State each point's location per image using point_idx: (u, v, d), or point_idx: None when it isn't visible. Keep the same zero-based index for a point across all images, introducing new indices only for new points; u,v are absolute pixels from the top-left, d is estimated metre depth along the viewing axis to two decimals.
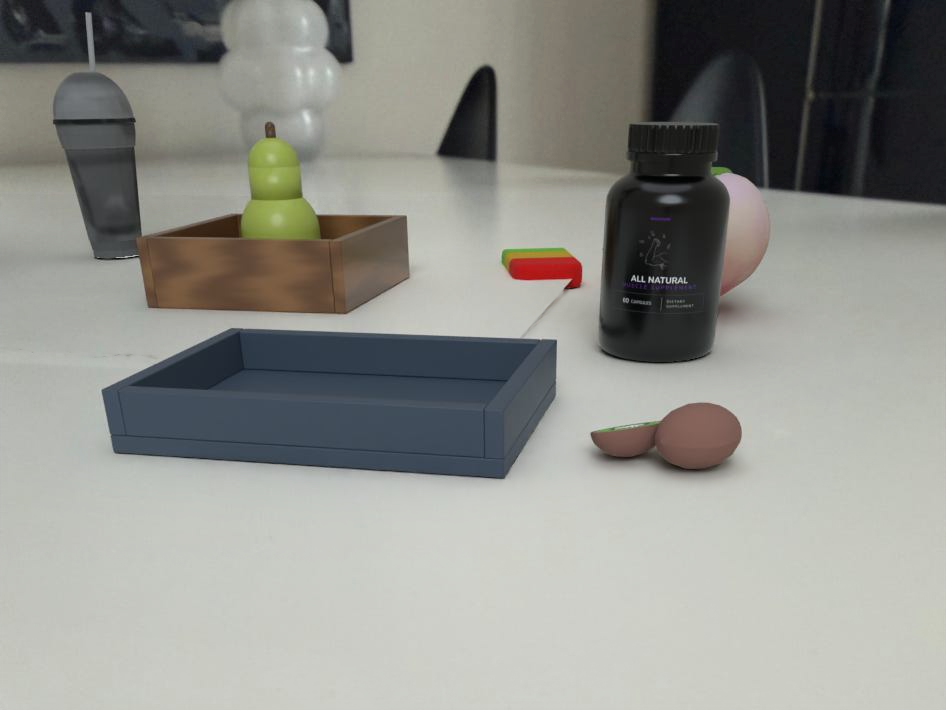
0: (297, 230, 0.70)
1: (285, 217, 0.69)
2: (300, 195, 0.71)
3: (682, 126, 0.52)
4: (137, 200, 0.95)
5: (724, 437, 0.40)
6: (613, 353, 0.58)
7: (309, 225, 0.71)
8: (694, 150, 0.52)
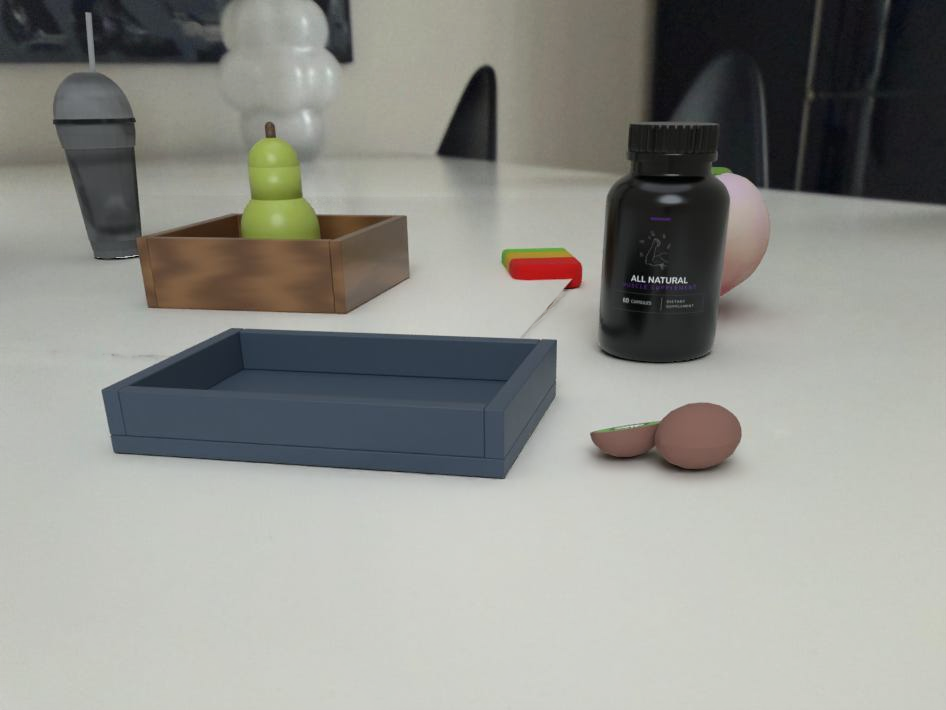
0: (297, 230, 0.70)
1: (285, 217, 0.69)
2: (300, 195, 0.71)
3: (682, 126, 0.51)
4: (137, 200, 0.95)
5: (723, 437, 0.40)
6: (613, 353, 0.58)
7: (309, 225, 0.71)
8: (694, 150, 0.52)
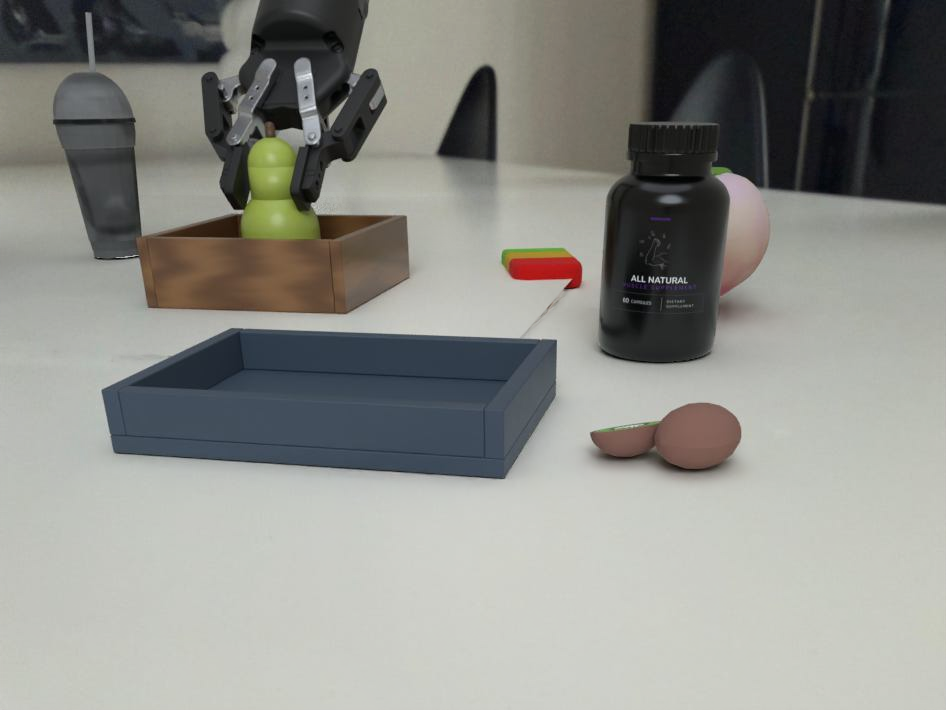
0: (297, 230, 0.70)
1: (285, 217, 0.69)
2: None
3: (682, 126, 0.51)
4: (137, 200, 0.95)
5: (723, 438, 0.40)
6: (613, 353, 0.58)
7: (309, 224, 0.71)
8: (694, 150, 0.52)
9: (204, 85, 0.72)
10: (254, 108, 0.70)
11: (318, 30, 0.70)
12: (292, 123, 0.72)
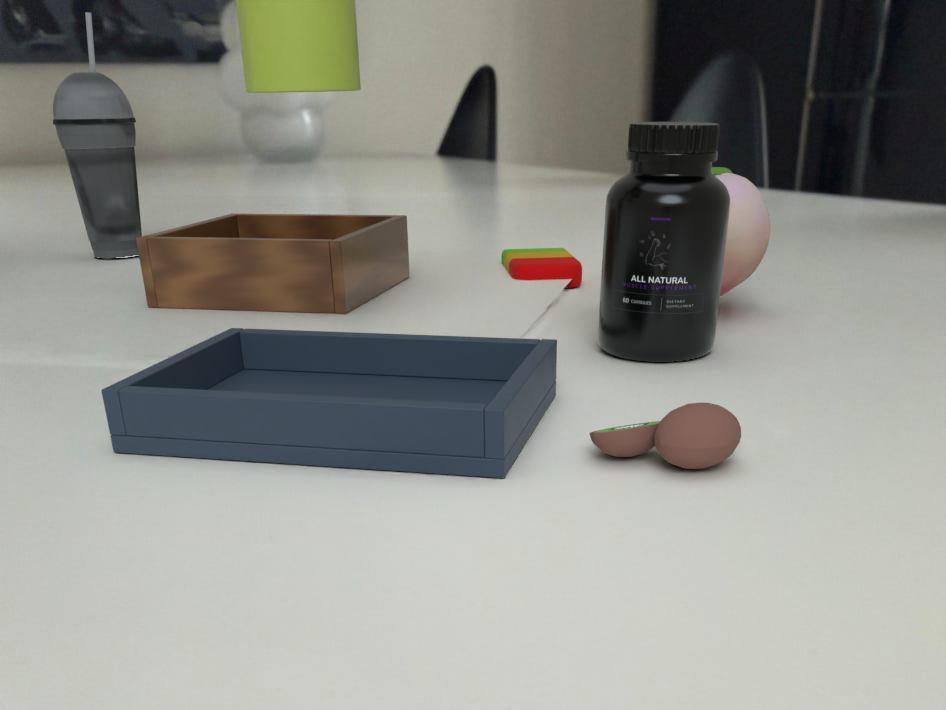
0: None
1: None
2: None
3: (682, 126, 0.51)
4: (137, 200, 0.95)
5: (723, 438, 0.40)
6: (613, 353, 0.58)
7: None
8: (694, 150, 0.52)
9: None
10: None
11: None
12: None
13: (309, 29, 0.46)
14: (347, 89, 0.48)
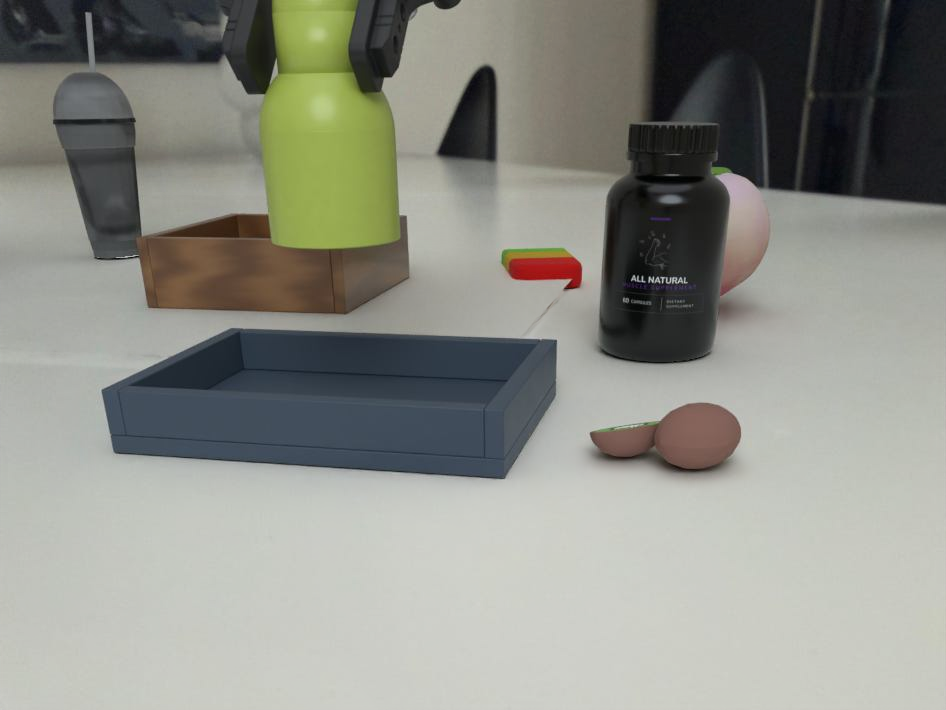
0: (359, 128, 0.40)
1: (339, 103, 0.39)
2: None
3: (682, 126, 0.51)
4: (137, 200, 0.95)
5: (723, 438, 0.40)
6: (613, 353, 0.58)
7: (380, 119, 0.40)
8: (694, 150, 0.52)
9: None
10: None
11: None
12: None
13: (344, 182, 0.40)
14: (386, 242, 0.42)
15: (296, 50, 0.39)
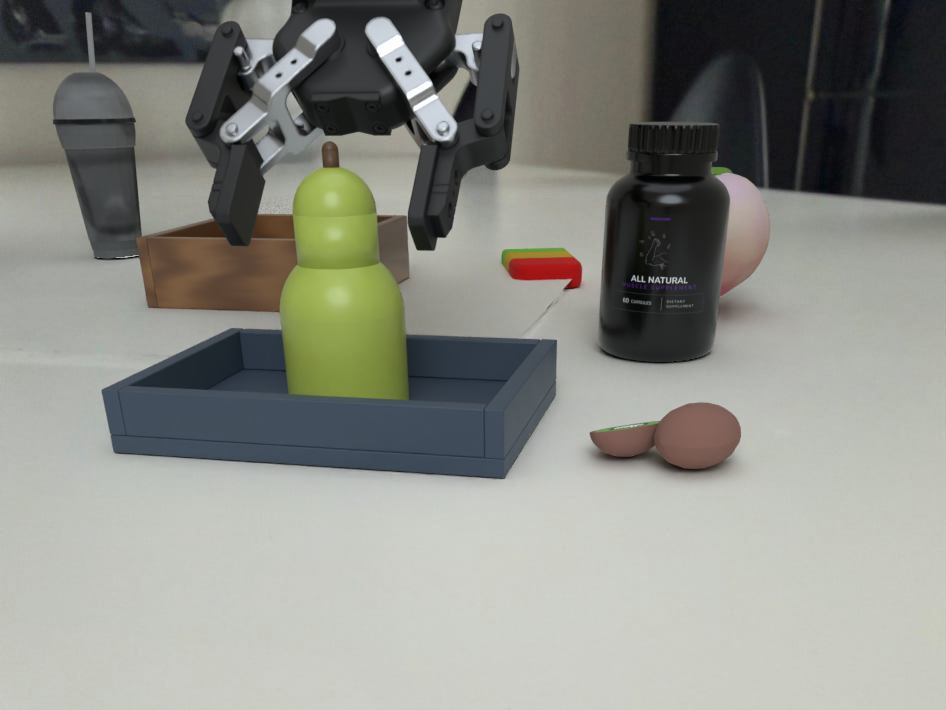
0: (372, 317, 0.43)
1: (354, 297, 0.43)
2: (377, 259, 0.44)
3: (682, 126, 0.51)
4: (137, 200, 0.95)
5: (723, 438, 0.40)
6: (613, 353, 0.58)
7: (392, 307, 0.44)
8: (694, 150, 0.52)
9: (216, 40, 0.45)
10: (276, 94, 0.43)
11: None
12: (359, 124, 0.44)
13: (358, 364, 0.44)
14: None
15: (315, 249, 0.42)
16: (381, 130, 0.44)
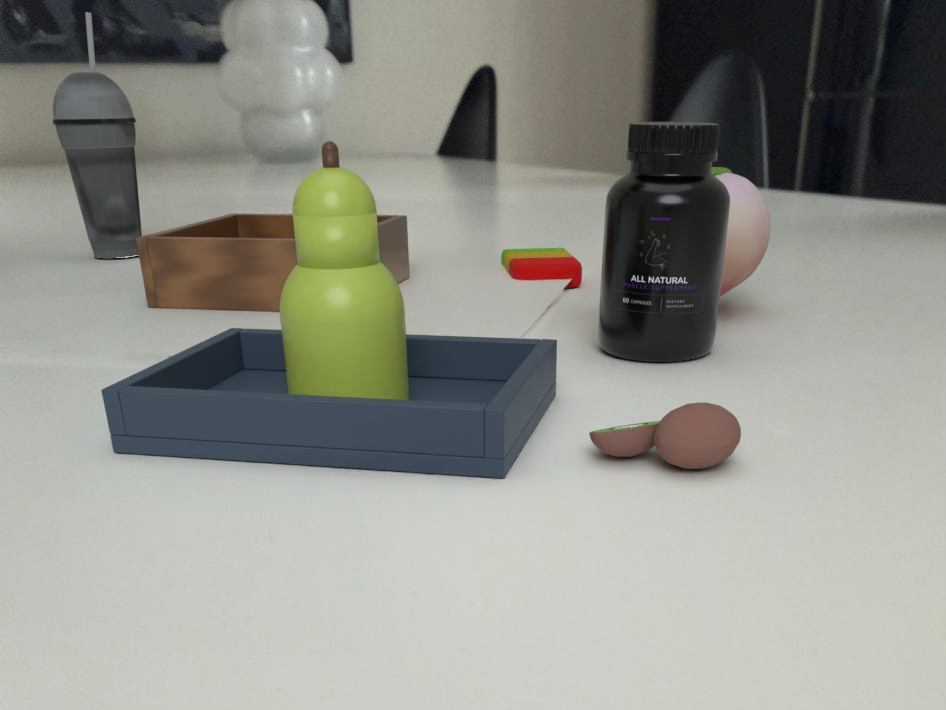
0: (372, 317, 0.43)
1: (354, 297, 0.43)
2: (377, 259, 0.44)
3: (682, 126, 0.52)
4: (137, 200, 0.95)
5: (723, 438, 0.40)
6: (613, 353, 0.58)
7: (392, 307, 0.44)
8: (694, 150, 0.52)
9: None
10: None
11: None
12: None
13: (358, 364, 0.44)
14: None
15: (315, 249, 0.42)
16: None
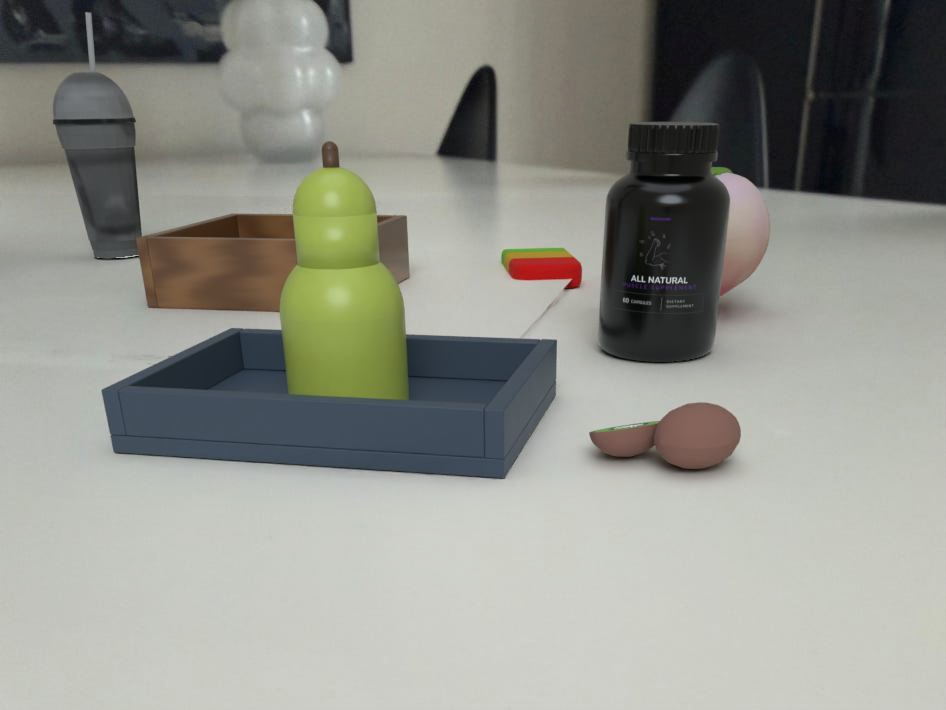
0: (372, 317, 0.43)
1: (354, 297, 0.43)
2: (377, 259, 0.44)
3: (682, 126, 0.51)
4: (137, 200, 0.95)
5: (722, 438, 0.40)
6: (613, 353, 0.58)
7: (392, 307, 0.44)
8: (694, 150, 0.52)
9: None
10: None
11: None
12: None
13: (358, 364, 0.44)
14: None
15: (315, 249, 0.42)
16: None
